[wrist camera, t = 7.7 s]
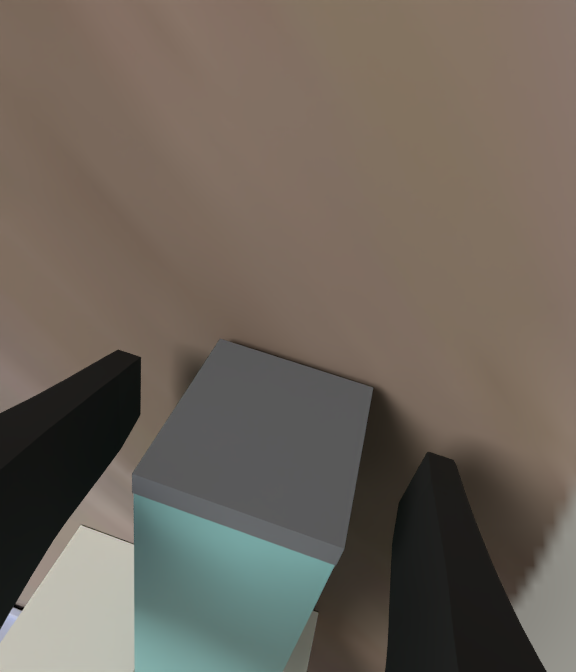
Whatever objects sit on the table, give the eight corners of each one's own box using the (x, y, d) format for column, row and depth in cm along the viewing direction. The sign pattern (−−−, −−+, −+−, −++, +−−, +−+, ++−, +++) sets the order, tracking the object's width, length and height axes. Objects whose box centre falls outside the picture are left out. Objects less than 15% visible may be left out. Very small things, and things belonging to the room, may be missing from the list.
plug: (289, 594, 19) (253, 733, 15) (190, 558, 19) (133, 685, 16) (373, 387, 12) (344, 548, 9) (220, 338, 12) (132, 473, 9)
